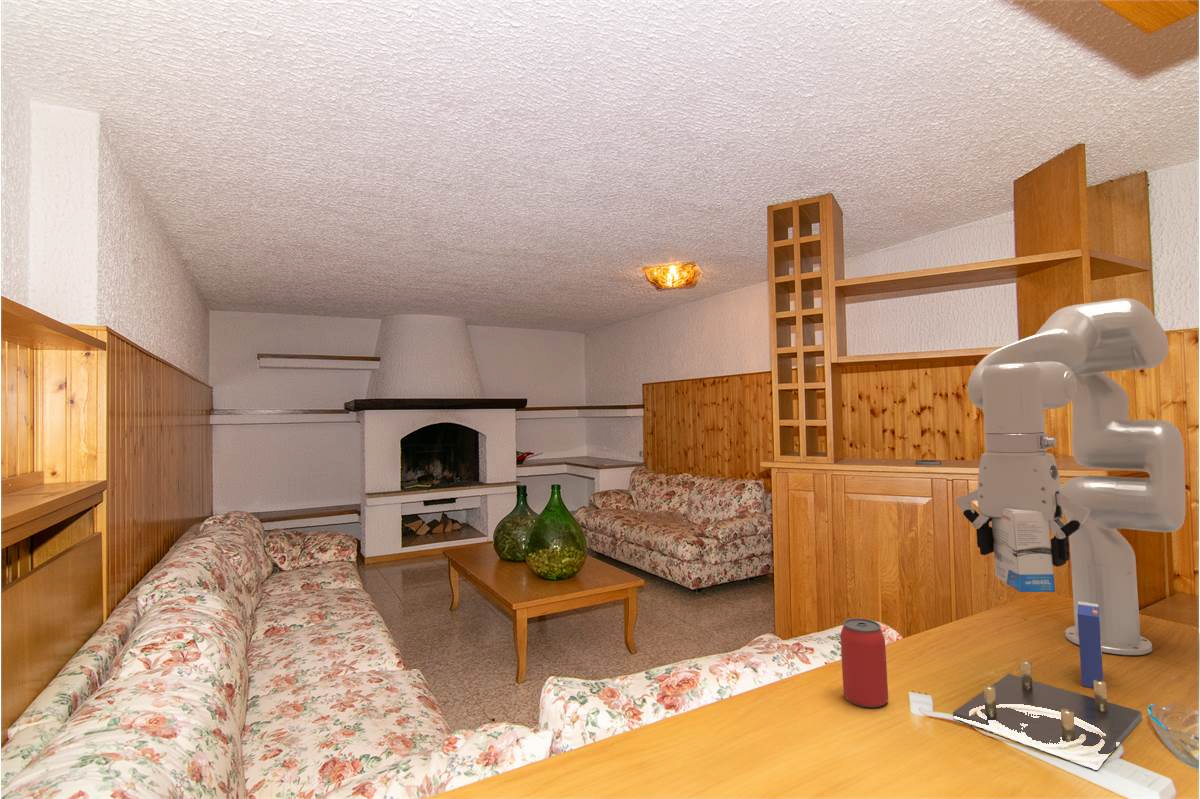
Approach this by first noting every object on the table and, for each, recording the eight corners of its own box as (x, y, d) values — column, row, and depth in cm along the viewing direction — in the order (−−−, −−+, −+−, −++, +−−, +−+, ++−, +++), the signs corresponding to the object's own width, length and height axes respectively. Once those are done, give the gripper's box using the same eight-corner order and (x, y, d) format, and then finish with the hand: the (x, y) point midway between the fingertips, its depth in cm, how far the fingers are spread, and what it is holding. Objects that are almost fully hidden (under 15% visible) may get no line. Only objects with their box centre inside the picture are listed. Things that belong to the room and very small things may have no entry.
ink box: (1056, 593, 86) (1051, 511, 86) (1017, 592, 87) (1012, 511, 87) (1028, 576, 94) (1024, 501, 94) (993, 576, 95) (988, 502, 95)
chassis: (1009, 679, 101) (1007, 649, 101) (1142, 718, 87) (1139, 683, 87) (953, 718, 89) (951, 684, 89) (1096, 771, 76) (1094, 730, 76)
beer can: (888, 693, 98) (884, 619, 98) (888, 712, 92) (884, 633, 92) (844, 687, 101) (840, 615, 101) (842, 705, 95) (838, 628, 95)
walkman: (1104, 690, 96) (1099, 614, 96) (1081, 685, 98) (1077, 611, 98) (1103, 672, 102) (1098, 601, 102) (1082, 668, 104) (1077, 599, 104)
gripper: (1094, 444, 86) (1102, 564, 86) (965, 442, 100) (971, 545, 100) (1075, 448, 82) (1083, 575, 81) (943, 445, 96) (949, 553, 96)
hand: (1021, 558), depth 91 cm, fingers closed on ink box, 9 cm apart
